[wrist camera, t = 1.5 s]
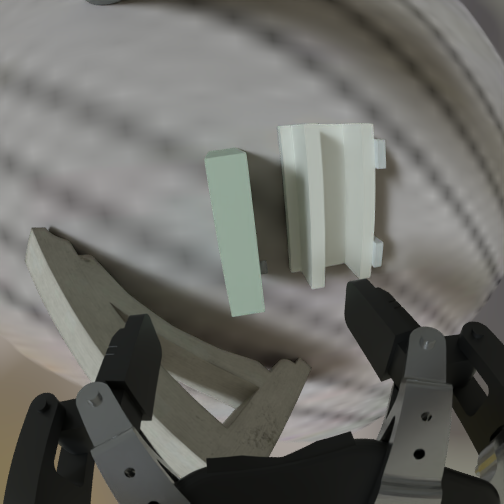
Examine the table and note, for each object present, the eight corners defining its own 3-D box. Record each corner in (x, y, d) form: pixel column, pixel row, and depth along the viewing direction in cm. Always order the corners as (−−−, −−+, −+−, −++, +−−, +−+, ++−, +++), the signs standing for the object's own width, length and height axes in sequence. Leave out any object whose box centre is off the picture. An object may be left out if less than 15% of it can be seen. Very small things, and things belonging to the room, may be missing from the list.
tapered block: (208, 151, 22) (204, 158, 15) (245, 146, 23) (260, 150, 15) (226, 264, 27) (232, 316, 19) (258, 259, 27) (275, 309, 20)
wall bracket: (161, 229, 41) (311, 367, 33) (149, 251, 42) (290, 386, 35) (31, 227, 21) (247, 493, 13) (24, 260, 22) (216, 503, 14)
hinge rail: (277, 126, 22) (292, 124, 18) (357, 124, 23) (386, 124, 18) (289, 268, 28) (303, 294, 23) (358, 255, 28) (381, 277, 24)
